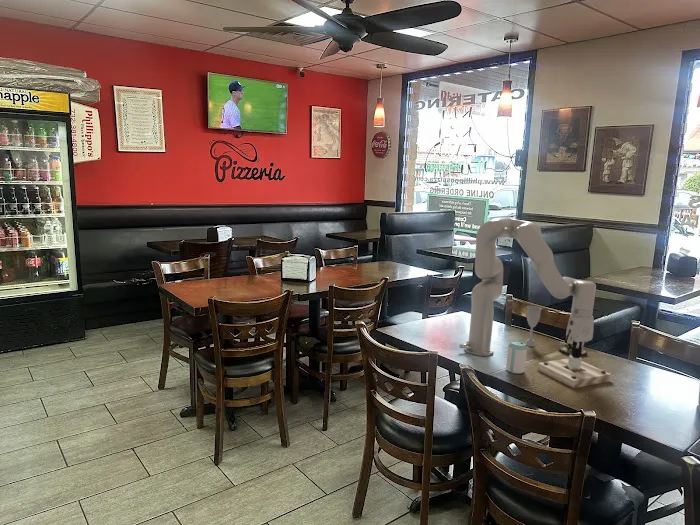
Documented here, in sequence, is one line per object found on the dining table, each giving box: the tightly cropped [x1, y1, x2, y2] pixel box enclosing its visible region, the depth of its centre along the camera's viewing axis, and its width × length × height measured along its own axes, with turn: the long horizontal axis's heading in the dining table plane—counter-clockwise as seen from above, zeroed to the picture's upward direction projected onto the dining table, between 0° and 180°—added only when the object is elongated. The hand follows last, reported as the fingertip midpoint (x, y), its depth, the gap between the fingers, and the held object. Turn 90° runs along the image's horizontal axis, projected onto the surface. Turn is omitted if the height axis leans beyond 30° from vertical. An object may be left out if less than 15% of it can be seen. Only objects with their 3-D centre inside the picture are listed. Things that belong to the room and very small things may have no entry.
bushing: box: [567, 354, 583, 372], centre depth 194 cm, size 5×5×8 cm
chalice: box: [524, 305, 543, 347], centre depth 228 cm, size 7×7×18 cm
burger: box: [558, 343, 588, 356], centre depth 221 cm, size 12×12×8 cm
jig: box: [536, 357, 612, 389], centre depth 194 cm, size 20×18×4 cm
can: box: [505, 340, 528, 375], centre depth 195 cm, size 7×7×12 cm
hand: (575, 356), depth 193 cm, fingers closed
